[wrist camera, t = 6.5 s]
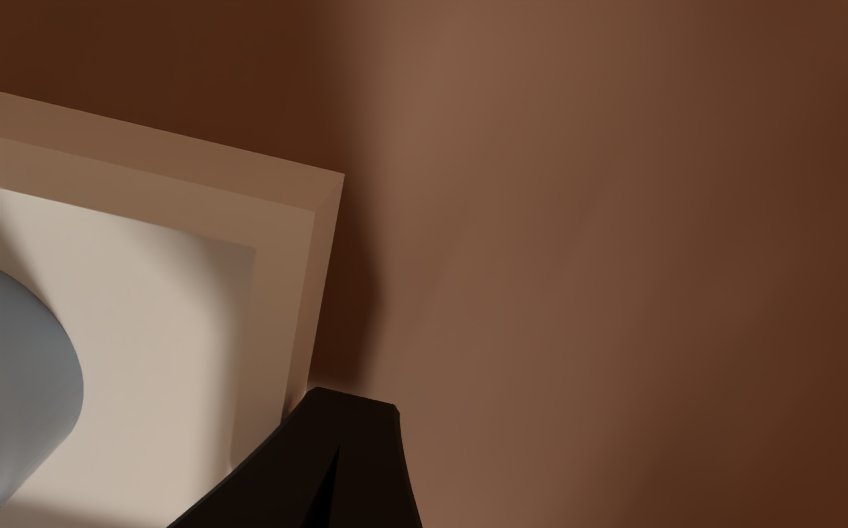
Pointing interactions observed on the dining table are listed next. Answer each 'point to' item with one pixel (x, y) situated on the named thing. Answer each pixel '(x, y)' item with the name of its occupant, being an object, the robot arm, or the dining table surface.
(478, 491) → the dining table surface
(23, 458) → the grey rounded dome
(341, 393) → the robot arm
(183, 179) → the tray
